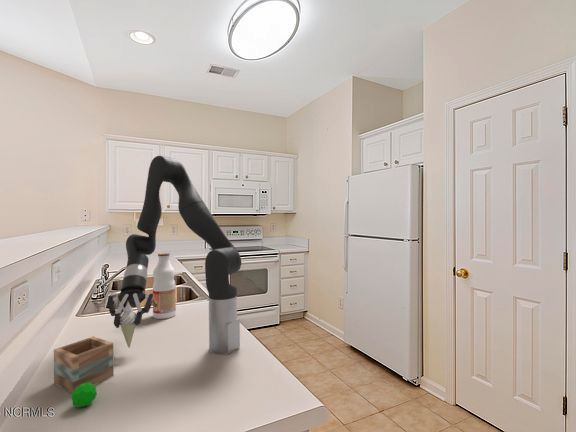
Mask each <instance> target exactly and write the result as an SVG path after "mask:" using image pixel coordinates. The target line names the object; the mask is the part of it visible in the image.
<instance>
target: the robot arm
mask: <svg viewBox="0 0 576 432" xmlns="http://www.w3.org/2000/svg"><path fill="white" fill-rule="evenodd" d="M163 182H165V183H170V184H171V185H172V186H173V187H174V190H175V191H176V192H177V194H178V208H177V209H178V212H179V214H180V217H181V218H182V220H183V222H184V223H185V225H186V226H187V227H188V228H189V229H190V230H191V232H193V233H194V234H195V235H197V236H198V237H199V238H201V239H202V240H203V241H205V242H206V243H207V244H208V245H209V246H210V248H211V250H210V251H209V252H208V253H207V255H206V257H205V260H204V271H205V272H204V273H205V284H206V286H205V287H206V290H207V293H208V336H209V337H208V344H209V345H208V348H209V350H208V351H210V352H211V353H213V354H217V355H218V354H220V355H221V354H223V355H224V354H226V355H229V354H230V353H232V352H234V351H236V350H237V349H240V347H241V336H240V335H241V331H240V329H241V326H240V325H241V323H240V320H241V319H240V318H238V290H237V287H236V286H235V285H233V284H230V278H229V277H230V276H229V275H233V274H235V273H237V272H238V271H240V269H241V268H242V257H241V254H240V253H239V251H238V250H237V248H236V247H235V246H234V244H232V242H231V240H230V239H229V238H228V237H227V236H226V234H225V233H224V232H223V230H222V229H221V227H220V226H219V224H218V223H217V221H216V219H215V218H214V216H213V215H212V213H211V211H210V209H209V208H208V207H207V205H206V203H205V202H204V200H203V199H202V197H201V196H200V194H199V193H198V191H197V189H196V187H195V185H194V184H193V182H192V180H191V179H190V176H189V174H188V172H187V170H186V168H185V166H184V164H183V163H182V162H181V160H178V159H176V158H172V157H169V156H165V155H164V156H163V155H156V156H155V157H153V159H151V162H150V165H149V167H148V173H147V180H146V186H145V195H144V202H143V207H142V210H141V212H140V215H139V218H138V222H137V224H136V228H137V229H138V230H139V232H142V233H145V234H146V235H148V236H145V235H142V234H141V235H140V234H136V233H135V234H134V233H133V234H130V235H129V236H128V237H127V238H126V241H125V249H126V254H127V261H126V266H125V270H124V273H123V278H122V282H121V283H122V284H121V288H120V293H119V294H118V295H117V296H115V297H113V296H110V297H108V311H109V312H108V313H109V314H110V317H114V319H113V325H114V327H115V328H116V329H118V328H120V327H121V326H120V319H121V318H120V317H121V316H122V314H123V312H124V309H125V307H126V305H127V302H129V304H130V306H131V307H132V308H136V310H137V312H136V320H135V325H136V326H135V327H138V326H139V325H141V324H142V319H143V315H144V314H148V313H150V310H151V307H152V306H153V300H154V296H153V293H149V294H146V287H147V282H148V268H149V257H148V256H150V255H152V254H153V253H154V252H155V250H156V247H157V246H156V245H157V244H156V242H157V241H156V236H157V229H158V226H159V224H160V220H161V216H162V210H163V209H162V203H161V197H160V191H161V186H162V184H163ZM145 299H146V300H145ZM144 300H145V301H146V302H145V304H144V307H143V308H142V306H141V303H142V302H143V301H144ZM118 301H119V302H120V303H119V304H118V307H117V308H116V307H115V305H117V302H118Z"/></svg>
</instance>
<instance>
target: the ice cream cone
mask: <svg viewBox="0 0 576 432" xmlns="http://www.w3.org/2000/svg"><path fill="white" fill-rule="evenodd" d="M136 314H137V312H134V309H133V307H131V306H130V304H129V302H127V305H126V307H125V309H124V312H123V313H122V315H121V317H120V318H121V319H120V326H119V327H120V328H121V331H122V334H123V336H124V339H125V343H126V346H127V348H130V347H131V344H132V341H133V337H134V333H135V330H136V327H137V326H136V325H135V320H136Z"/></svg>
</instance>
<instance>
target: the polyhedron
mask: <svg viewBox="0 0 576 432" xmlns="http://www.w3.org/2000/svg"><path fill="white" fill-rule="evenodd" d="M95 385H96V384H95ZM95 385H94V384H92V383H83V384H81V385H80V386H78V387H77V388H76V389H75V390H74V391H73V393H71V395H70V396H71V402H72V405H73V406H74V407H75V408H84V407H85V408H86V407H88V406H89V405H90V404H92V403H93V401H94V400H96V397H97V394H98V393H97V388H96V386H95Z"/></svg>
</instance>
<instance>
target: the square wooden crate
mask: <svg viewBox="0 0 576 432" xmlns="http://www.w3.org/2000/svg"><path fill="white" fill-rule="evenodd" d="M114 375H115V374H114V343H113V342H112V341H108V340H105V339H102V338H101V337H100V338H99V337H96V336H90V337H88V338H84V339H82V340H79V341H76V342H73V343H70V344H67V345H64V346H61V347H58V348H55V349H53V385H56V386H57V387H59V388H62V389H63V390H65V391H66V392H68V393H71V394H72V393H73V391H74V390H75V389H76V388H77V387H78V386H80V385H81V384H83V383H92V384H94V385H97V384H98V383H101V382H102V381H105V380H107V379H109V378H111V377H114Z"/></svg>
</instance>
